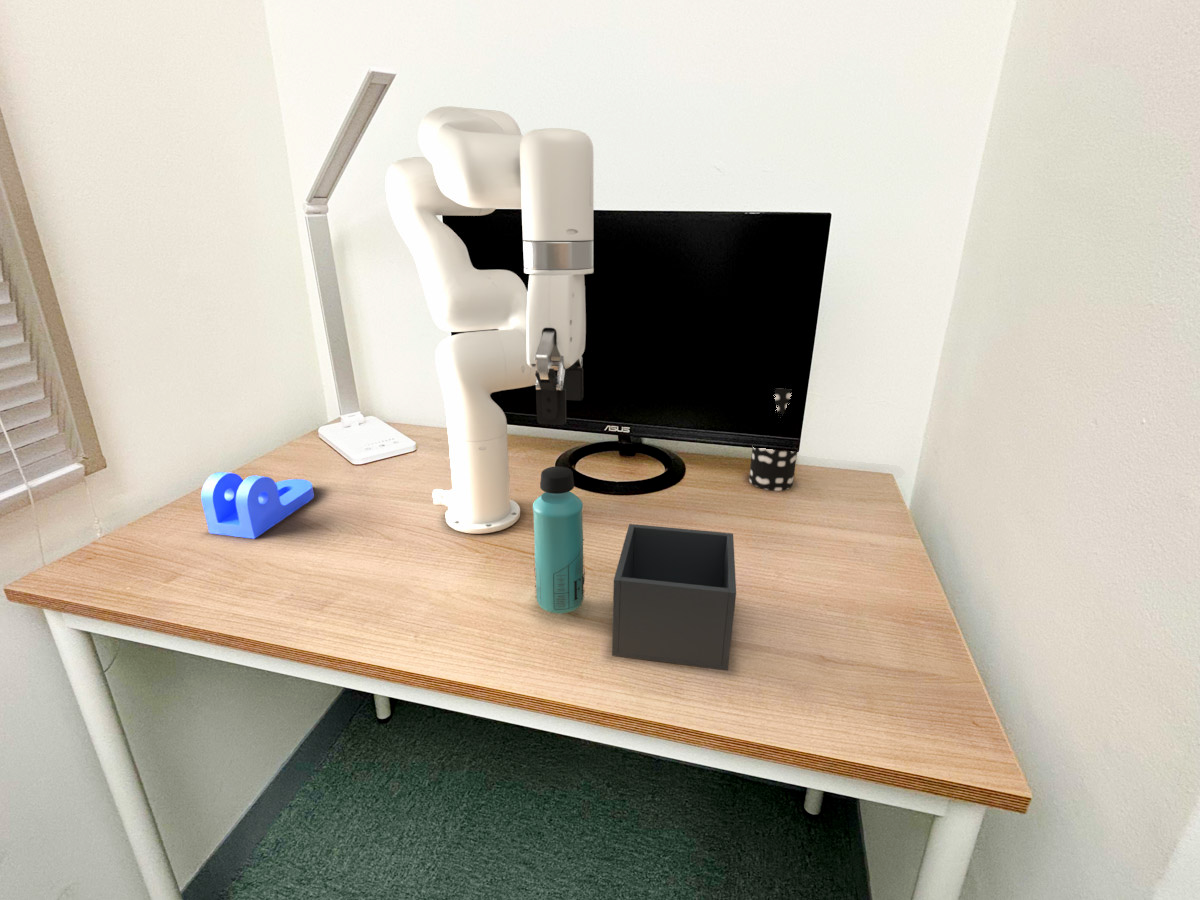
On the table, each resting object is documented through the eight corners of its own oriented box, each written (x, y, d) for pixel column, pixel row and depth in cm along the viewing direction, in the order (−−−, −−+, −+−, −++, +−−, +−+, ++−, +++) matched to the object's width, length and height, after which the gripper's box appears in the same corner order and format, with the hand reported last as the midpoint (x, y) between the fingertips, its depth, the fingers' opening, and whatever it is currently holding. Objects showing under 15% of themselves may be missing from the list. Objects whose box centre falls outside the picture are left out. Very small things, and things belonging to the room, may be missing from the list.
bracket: (254, 538, 98) (243, 487, 95) (209, 533, 100) (196, 482, 96) (323, 491, 115) (315, 446, 111) (283, 487, 116) (275, 442, 113)
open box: (611, 655, 73) (613, 579, 70) (627, 591, 86) (629, 523, 82) (728, 670, 71) (736, 593, 67) (726, 601, 84) (733, 533, 80)
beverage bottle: (578, 627, 78) (578, 484, 71) (528, 620, 79) (523, 479, 72) (589, 598, 84) (590, 463, 77) (542, 592, 85) (539, 458, 78)
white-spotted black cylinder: (743, 473, 125) (753, 377, 117) (783, 472, 125) (796, 377, 118) (756, 491, 117) (768, 389, 110) (799, 490, 118) (813, 388, 110)
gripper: (544, 254, 75) (548, 390, 81) (499, 263, 59) (508, 433, 65) (605, 254, 74) (604, 393, 80) (576, 264, 58) (578, 437, 64)
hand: (561, 411), depth 72 cm, fingers open, 9 cm apart
